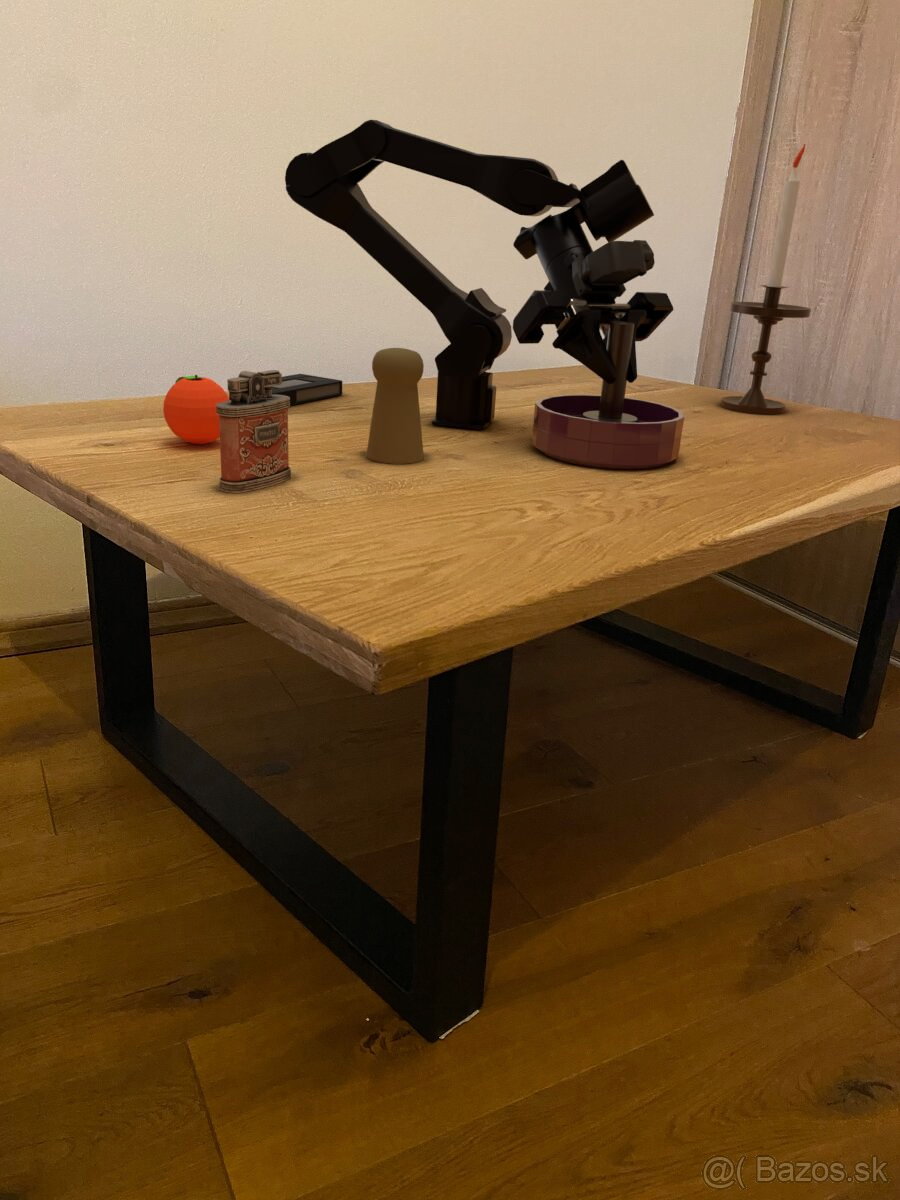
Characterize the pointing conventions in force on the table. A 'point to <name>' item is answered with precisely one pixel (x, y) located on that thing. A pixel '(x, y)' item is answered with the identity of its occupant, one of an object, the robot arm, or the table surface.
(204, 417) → the clementine
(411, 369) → the cork
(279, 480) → the lighter
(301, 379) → the vhs tape
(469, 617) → the table surface
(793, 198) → the candlestick
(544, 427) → the bowl
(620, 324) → the bolt
